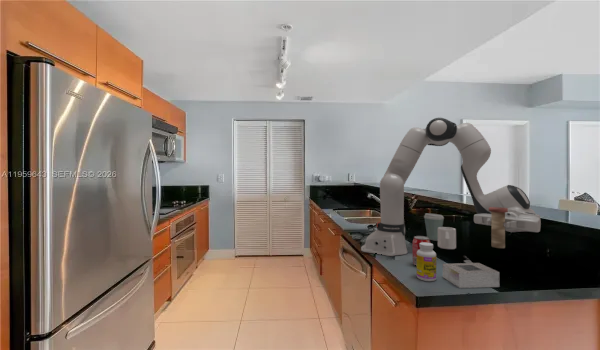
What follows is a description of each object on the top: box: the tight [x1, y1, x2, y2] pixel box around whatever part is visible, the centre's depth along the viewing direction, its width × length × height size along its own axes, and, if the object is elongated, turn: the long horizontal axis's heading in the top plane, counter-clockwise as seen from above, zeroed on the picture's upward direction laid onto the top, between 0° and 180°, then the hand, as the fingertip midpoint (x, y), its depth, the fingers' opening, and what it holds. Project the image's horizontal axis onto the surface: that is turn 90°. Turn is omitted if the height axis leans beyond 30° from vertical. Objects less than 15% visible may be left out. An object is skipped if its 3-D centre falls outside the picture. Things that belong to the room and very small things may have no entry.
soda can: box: [411, 235, 431, 267], centre depth 116 cm, size 7×7×12 cm
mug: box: [437, 226, 457, 250], centre depth 144 cm, size 12×9×10 cm
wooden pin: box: [489, 207, 508, 249], centre depth 100 cm, size 6×6×14 cm
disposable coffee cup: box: [423, 213, 445, 242], centre depth 163 cm, size 11×11×15 cm
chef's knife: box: [462, 254, 473, 263], centre depth 120 cm, size 19×1×3 cm
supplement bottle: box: [416, 242, 437, 282], centre depth 102 cm, size 7×7×13 cm
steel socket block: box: [442, 262, 501, 289], centre depth 98 cm, size 14×10×5 cm
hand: (497, 223), depth 99 cm, fingers closed on wooden pin, 4 cm apart
